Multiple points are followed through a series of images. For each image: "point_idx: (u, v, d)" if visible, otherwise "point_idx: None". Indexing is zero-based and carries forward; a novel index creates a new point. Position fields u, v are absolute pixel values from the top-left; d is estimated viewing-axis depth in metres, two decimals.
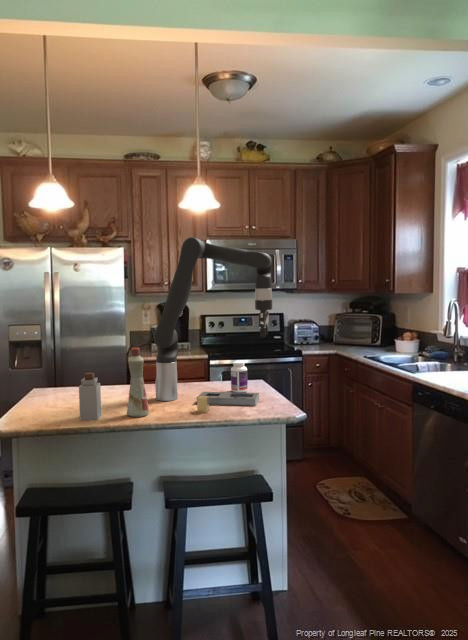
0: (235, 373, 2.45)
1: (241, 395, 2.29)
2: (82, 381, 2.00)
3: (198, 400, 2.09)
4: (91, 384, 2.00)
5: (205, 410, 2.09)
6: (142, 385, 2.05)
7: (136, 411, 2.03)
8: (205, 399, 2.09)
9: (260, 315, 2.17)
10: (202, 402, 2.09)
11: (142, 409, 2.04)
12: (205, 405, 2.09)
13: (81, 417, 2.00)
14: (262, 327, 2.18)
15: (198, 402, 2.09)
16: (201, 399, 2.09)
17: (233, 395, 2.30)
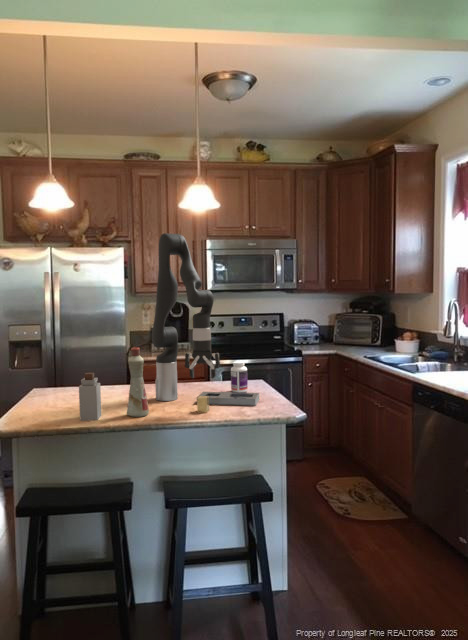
0: (235, 373, 2.45)
1: (241, 395, 2.29)
2: (82, 381, 2.00)
3: (198, 400, 2.09)
4: (91, 384, 2.00)
5: (205, 410, 2.09)
6: (142, 385, 2.05)
7: (137, 411, 2.03)
8: (205, 399, 2.09)
9: (218, 355, 2.08)
10: (202, 402, 2.09)
11: (142, 409, 2.04)
12: (205, 405, 2.09)
13: (81, 417, 2.00)
14: (217, 367, 2.09)
15: (198, 402, 2.09)
16: (201, 399, 2.09)
17: (233, 395, 2.30)
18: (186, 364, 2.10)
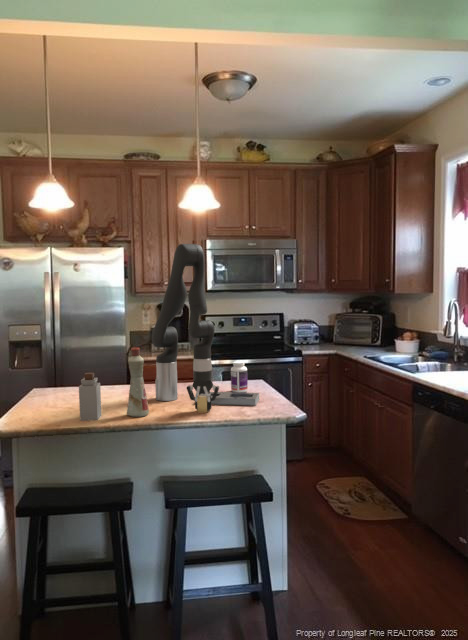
0: (235, 373, 2.45)
1: (241, 395, 2.29)
2: (82, 381, 2.00)
3: (198, 400, 2.09)
4: (91, 384, 2.00)
5: (205, 410, 2.09)
6: (142, 385, 2.05)
7: (136, 411, 2.03)
8: (205, 399, 2.09)
9: (218, 389, 2.09)
10: (202, 402, 2.09)
11: (142, 409, 2.04)
12: (205, 405, 2.09)
13: (81, 417, 2.00)
14: None
15: (198, 402, 2.09)
16: (201, 399, 2.09)
17: (233, 395, 2.30)
18: (191, 396, 2.11)
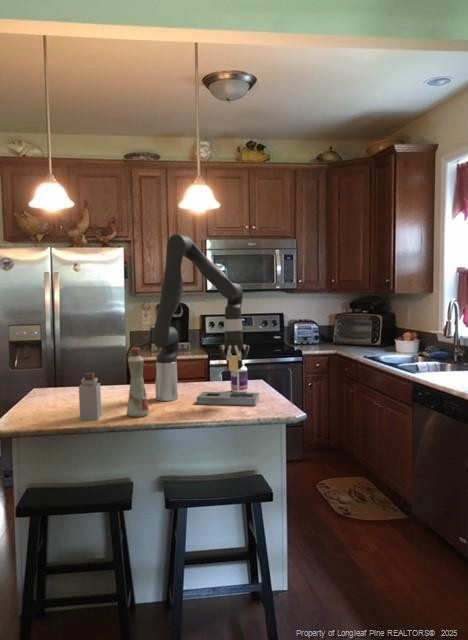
0: (235, 373, 2.45)
1: (241, 395, 2.29)
2: (82, 381, 2.00)
3: (229, 359, 2.20)
4: (91, 384, 2.00)
5: (236, 368, 2.19)
6: (142, 385, 2.05)
7: (136, 411, 2.03)
8: (236, 358, 2.19)
9: (248, 348, 2.19)
10: (233, 360, 2.19)
11: (142, 409, 2.04)
12: (236, 363, 2.19)
13: (81, 417, 2.00)
14: None
15: (229, 361, 2.20)
16: (232, 358, 2.19)
17: (233, 395, 2.30)
18: (223, 356, 2.21)
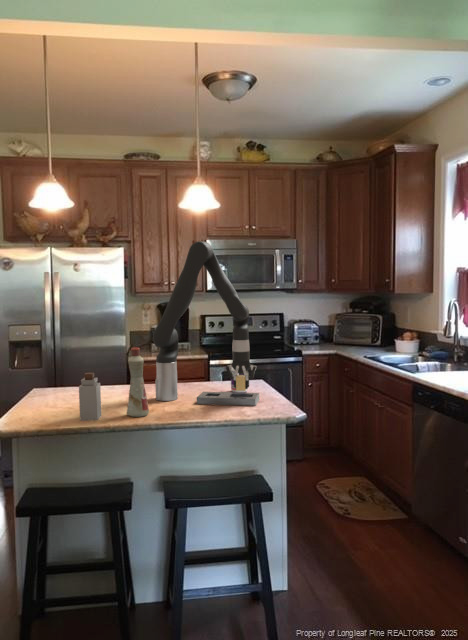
0: None
1: (241, 395, 2.29)
2: (82, 381, 2.00)
3: (237, 379, 2.24)
4: (91, 384, 2.00)
5: (243, 388, 2.24)
6: (142, 385, 2.05)
7: (136, 411, 2.03)
8: (243, 378, 2.23)
9: (255, 368, 2.24)
10: (241, 381, 2.24)
11: (142, 409, 2.04)
12: (243, 383, 2.24)
13: (81, 417, 2.00)
14: None
15: (237, 381, 2.24)
16: (240, 378, 2.24)
17: (233, 395, 2.30)
18: (230, 375, 2.25)
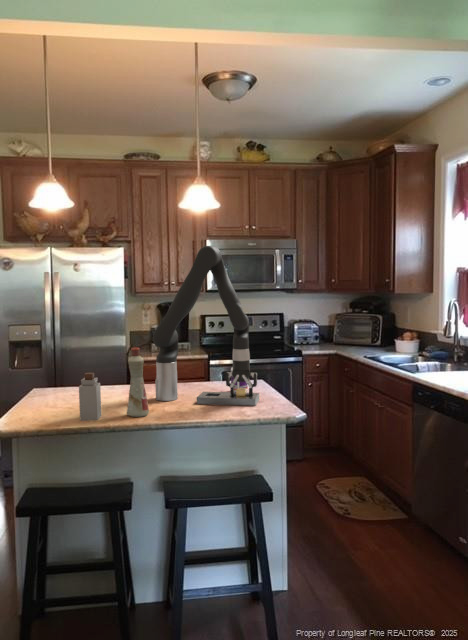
0: None
1: None
2: (82, 381, 2.00)
3: (237, 392, 2.24)
4: (91, 384, 2.00)
5: None
6: (142, 385, 2.05)
7: (137, 411, 2.03)
8: (244, 391, 2.24)
9: (256, 375, 2.24)
10: (241, 393, 2.24)
11: (142, 409, 2.04)
12: (244, 396, 2.24)
13: (81, 417, 2.00)
14: (254, 386, 2.25)
15: (237, 393, 2.25)
16: (240, 391, 2.24)
17: None
18: (227, 383, 2.26)
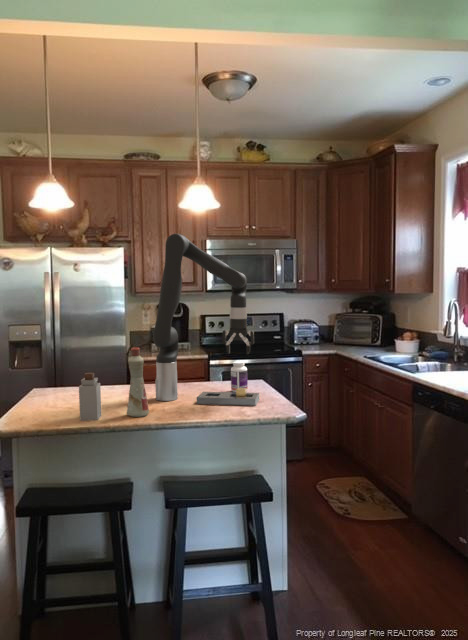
0: (235, 373, 2.45)
1: None
2: (82, 381, 2.00)
3: (237, 392, 2.25)
4: (91, 384, 2.00)
5: None
6: (142, 385, 2.05)
7: (136, 411, 2.03)
8: (244, 391, 2.24)
9: (253, 333, 2.26)
10: (241, 393, 2.24)
11: (142, 409, 2.04)
12: (244, 396, 2.24)
13: (81, 417, 2.00)
14: (251, 344, 2.27)
15: (237, 393, 2.25)
16: (240, 391, 2.24)
17: (233, 395, 2.30)
18: (223, 340, 2.28)
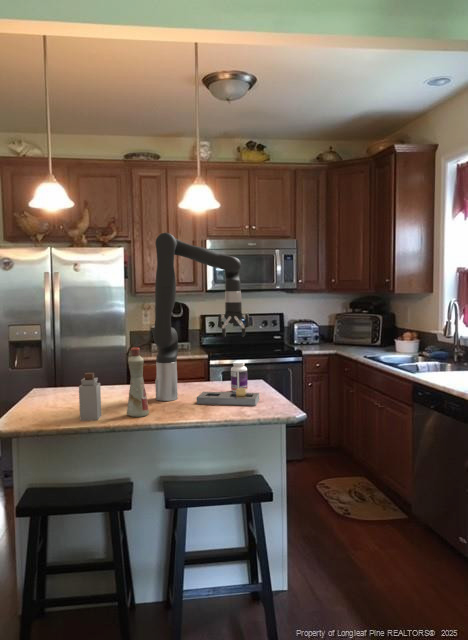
0: (235, 373, 2.45)
1: None
2: (82, 381, 2.00)
3: (237, 392, 2.25)
4: (91, 384, 2.00)
5: None
6: (142, 385, 2.05)
7: (136, 411, 2.03)
8: (244, 391, 2.24)
9: (248, 316, 2.33)
10: (241, 393, 2.24)
11: (142, 409, 2.04)
12: (244, 396, 2.24)
13: (81, 417, 2.00)
14: (246, 327, 2.34)
15: (237, 393, 2.25)
16: (240, 391, 2.24)
17: (233, 395, 2.30)
18: (219, 324, 2.35)
